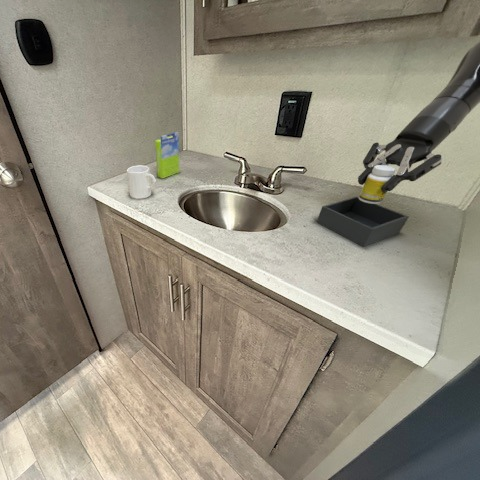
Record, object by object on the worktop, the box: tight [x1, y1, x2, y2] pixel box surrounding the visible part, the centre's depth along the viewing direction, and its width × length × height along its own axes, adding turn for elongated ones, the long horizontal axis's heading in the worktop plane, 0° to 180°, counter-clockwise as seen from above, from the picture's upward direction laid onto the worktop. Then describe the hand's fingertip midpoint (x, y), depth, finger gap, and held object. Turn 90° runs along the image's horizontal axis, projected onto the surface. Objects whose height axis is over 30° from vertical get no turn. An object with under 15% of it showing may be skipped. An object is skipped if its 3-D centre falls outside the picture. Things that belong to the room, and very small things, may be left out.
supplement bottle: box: [358, 165, 397, 205], centre depth 59 cm, size 5×5×8 cm
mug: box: [126, 164, 157, 200], centre depth 88 cm, size 8×12×10 cm
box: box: [154, 131, 180, 179], centre depth 103 cm, size 10×4×17 cm, turn 132°
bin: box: [316, 196, 410, 248], centre depth 65 cm, size 13×13×5 cm
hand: (371, 186), depth 58 cm, fingers closed on supplement bottle, 4 cm apart
